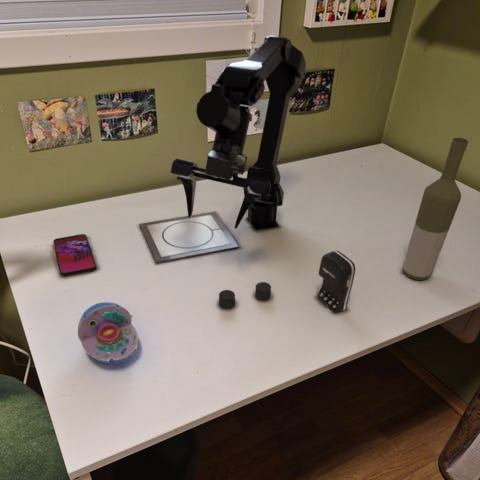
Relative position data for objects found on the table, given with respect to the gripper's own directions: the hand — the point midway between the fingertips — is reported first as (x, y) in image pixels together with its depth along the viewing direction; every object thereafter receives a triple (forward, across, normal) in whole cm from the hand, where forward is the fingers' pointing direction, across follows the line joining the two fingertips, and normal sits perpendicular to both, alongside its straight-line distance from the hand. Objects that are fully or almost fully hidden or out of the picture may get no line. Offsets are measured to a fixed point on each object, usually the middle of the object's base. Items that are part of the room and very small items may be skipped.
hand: (212, 223), depth 91 cm
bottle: (+2, +46, +15) cm, 48 cm away
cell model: (+26, -11, -13) cm, 31 cm away
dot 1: (+15, +6, +1) cm, 17 cm away
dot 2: (+12, +13, +4) cm, 18 cm away
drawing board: (+5, -8, +24) cm, 25 cm away
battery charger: (+11, +27, +4) cm, 29 cm away
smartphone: (+15, -31, +13) cm, 37 cm away
